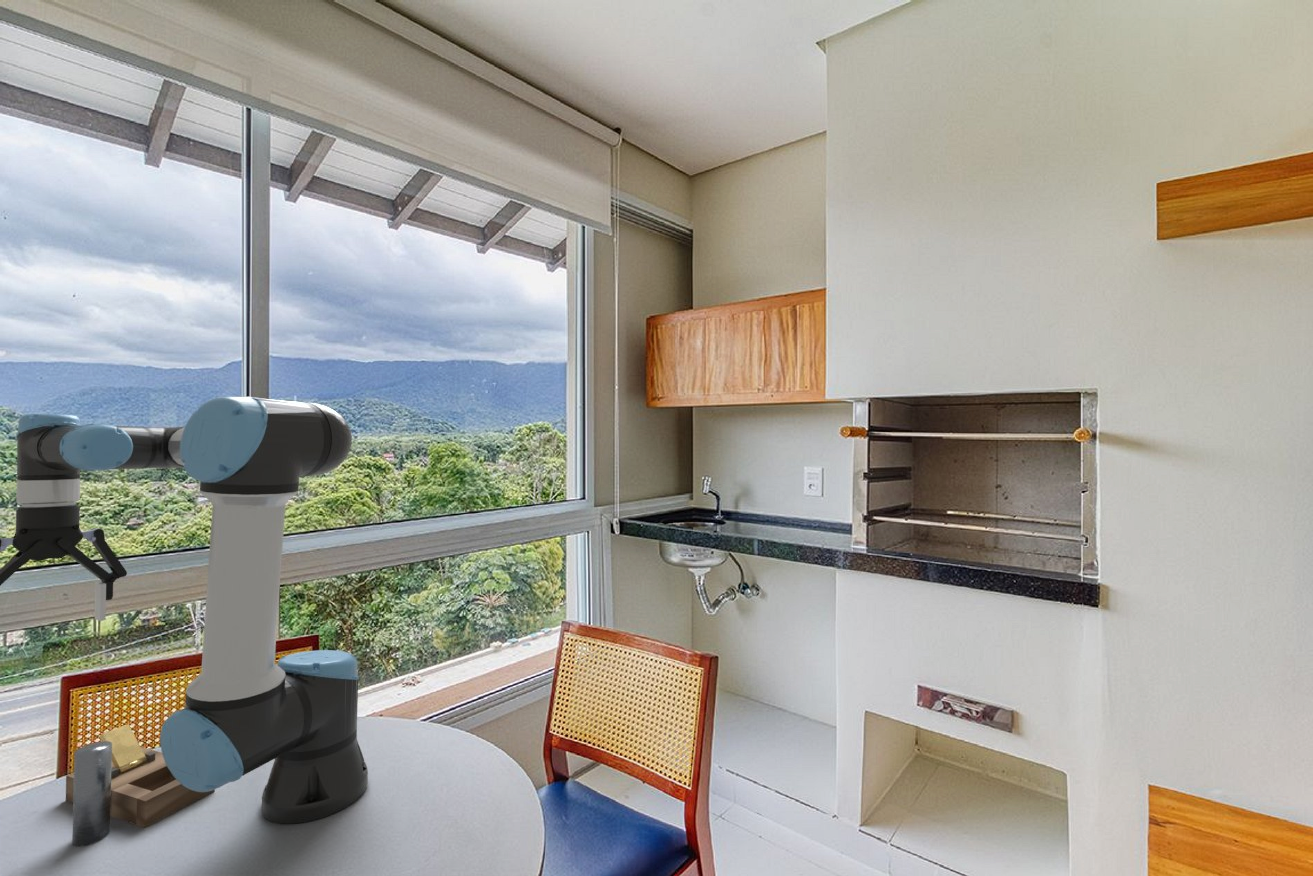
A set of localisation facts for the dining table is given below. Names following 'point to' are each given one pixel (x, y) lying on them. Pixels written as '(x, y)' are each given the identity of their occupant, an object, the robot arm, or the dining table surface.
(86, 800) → the peg
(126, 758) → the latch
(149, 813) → the block
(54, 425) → the robot arm
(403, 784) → the dining table surface
